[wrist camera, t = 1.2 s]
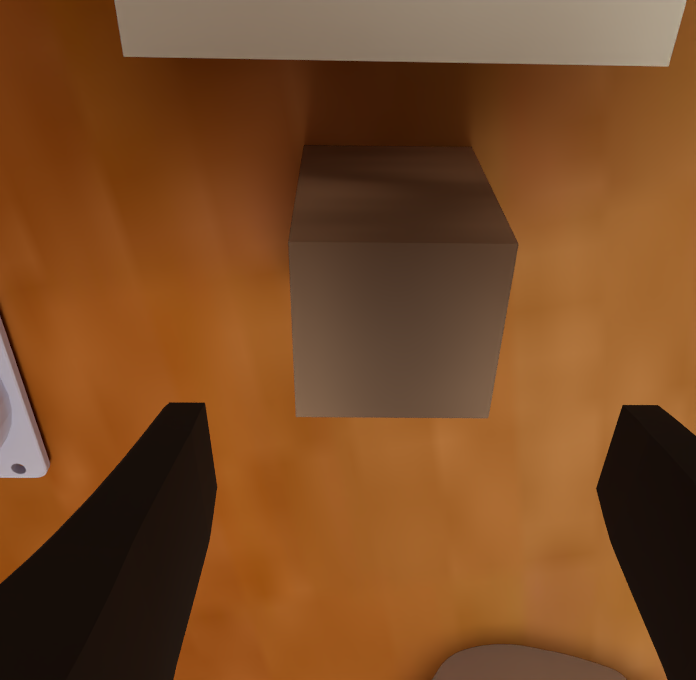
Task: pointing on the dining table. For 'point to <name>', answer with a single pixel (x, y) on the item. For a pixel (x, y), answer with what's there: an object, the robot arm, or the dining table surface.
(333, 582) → the dining table surface
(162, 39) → the base block
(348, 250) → the walnut block
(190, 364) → the dining table surface
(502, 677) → the lumpy-topped squat cylinder
